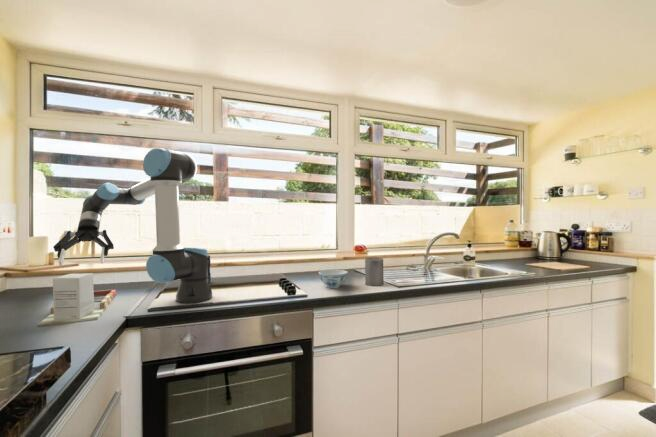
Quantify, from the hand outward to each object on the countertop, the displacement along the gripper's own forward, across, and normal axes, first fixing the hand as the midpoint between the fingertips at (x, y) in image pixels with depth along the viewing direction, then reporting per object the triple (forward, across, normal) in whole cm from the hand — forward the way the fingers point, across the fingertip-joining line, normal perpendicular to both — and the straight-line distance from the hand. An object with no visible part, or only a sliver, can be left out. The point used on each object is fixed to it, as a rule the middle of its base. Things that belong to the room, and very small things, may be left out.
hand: (81, 262), depth 131 cm
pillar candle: (+24, -130, -4) cm, 132 cm away
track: (+11, 0, -15) cm, 19 cm away
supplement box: (+21, 0, -5) cm, 21 cm away
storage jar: (-7, -47, -34) cm, 59 cm away
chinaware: (+20, -108, -7) cm, 110 cm away
